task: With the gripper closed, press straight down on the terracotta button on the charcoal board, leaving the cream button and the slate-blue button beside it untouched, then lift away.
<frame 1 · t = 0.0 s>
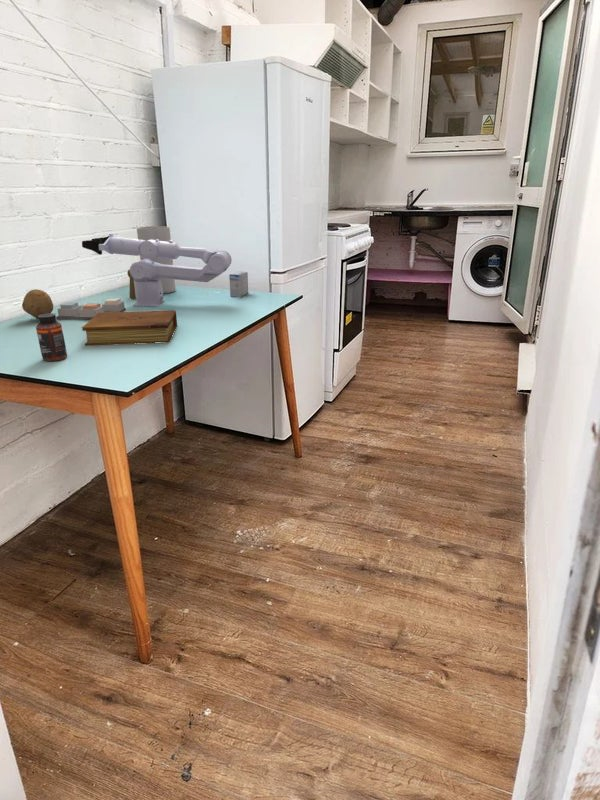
hand: (87, 242, 190), 22 cm above the table, tool horizontal, fingers open, 7 cm apart
medicine box: (239, 295, 211), on the table
board: (92, 314, 183), on the table
button slate: (69, 307, 179), point 3 cm above the table, slide at 0.0 cm
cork: (137, 298, 209), on the table
tall grey block: (160, 292, 220), on the table
button cream: (112, 303, 184), point 3 cm above the table, slide at 0.0 cm
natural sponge: (40, 320, 176), on the table
button terracotta: (91, 308, 177), point 3 cm above the table, slide at 0.0 cm
diary: (134, 337, 158), on the table
supplement bottle: (55, 359, 137), on the table
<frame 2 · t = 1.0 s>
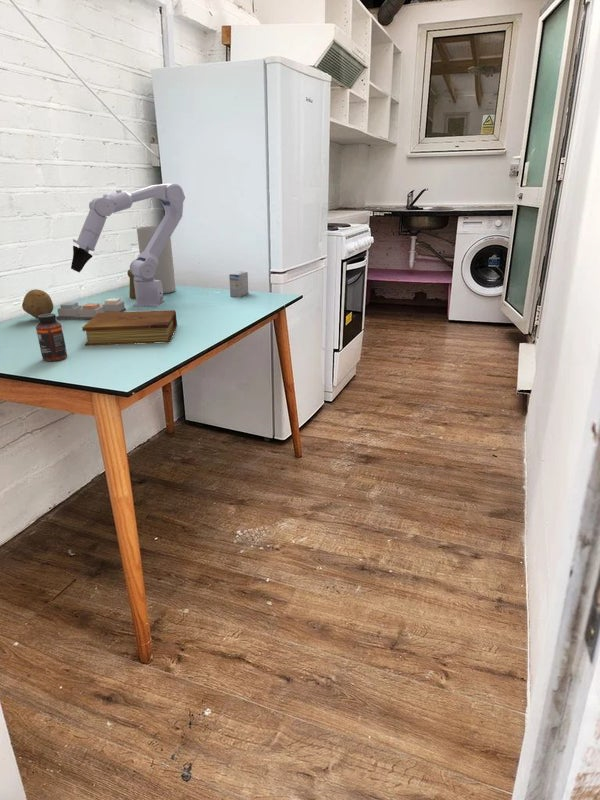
hand: (75, 270, 179), 14 cm above the table, tool tilted 30°, fingers open, 7 cm apart
nothing on the table moved.
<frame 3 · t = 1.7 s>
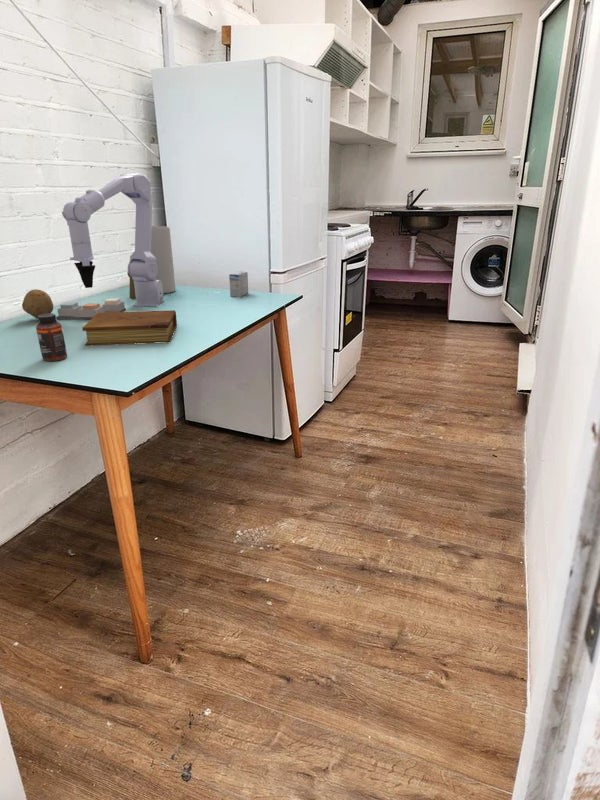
hand: (87, 285, 175), 10 cm above the table, tool pointing down, fingers open, 6 cm apart
nothing on the table moved.
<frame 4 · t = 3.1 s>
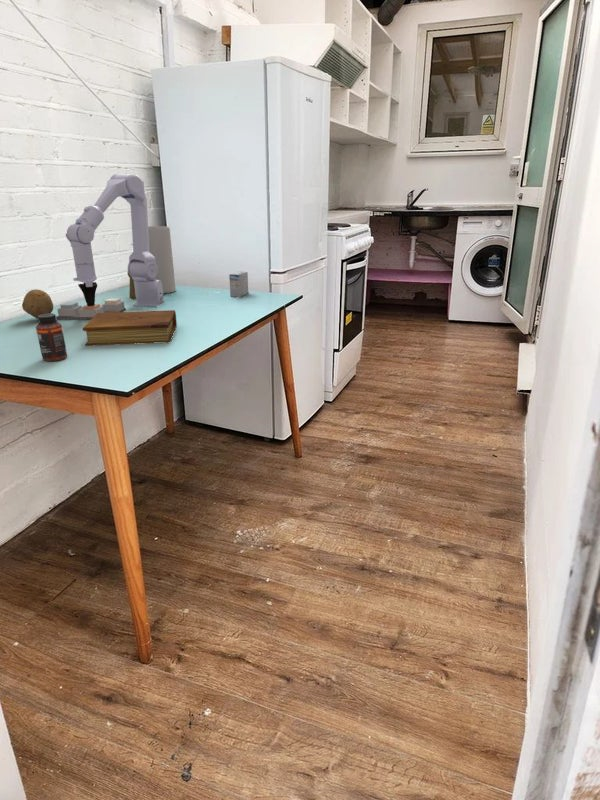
hand: (91, 305, 177), 4 cm above the table, tool pointing down, fingers closed, pressing on button terracotta
button terracotta: (91, 309, 178), point 3 cm above the table, slide at -0.3 cm, touching gripper
everything else where it was.
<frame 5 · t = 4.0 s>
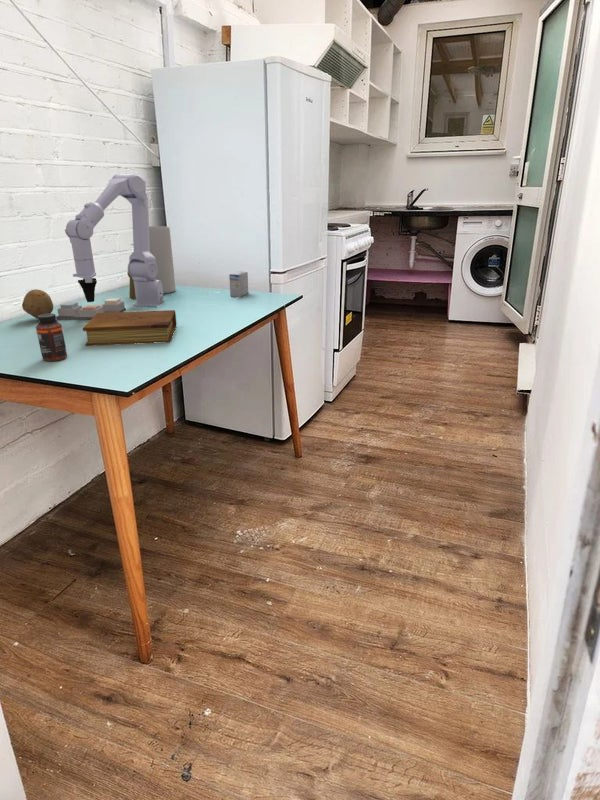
hand: (90, 301, 177), 5 cm above the table, tool pointing down, fingers closed
button terracotta: (91, 310, 178), point 2 cm above the table, slide at -0.7 cm
everything else where it was.
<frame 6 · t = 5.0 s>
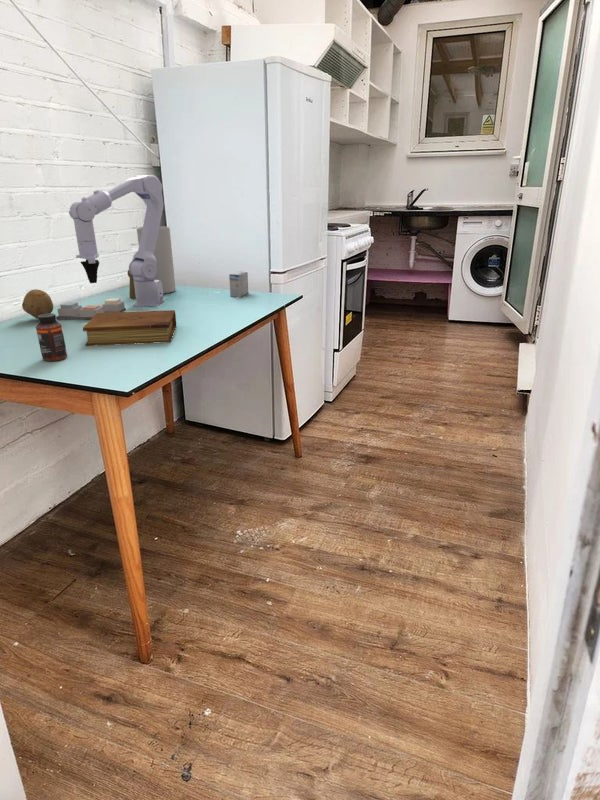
hand: (93, 282, 181), 10 cm above the table, tool pointing down, fingers closed
nothing on the table moved.
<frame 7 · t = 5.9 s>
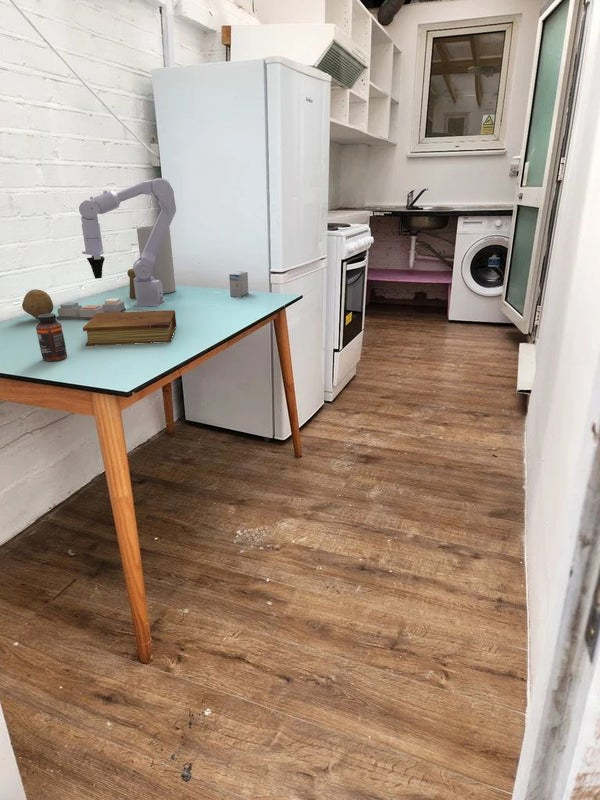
hand: (98, 278, 189), 10 cm above the table, tool pointing down, fingers closed
nothing on the table moved.
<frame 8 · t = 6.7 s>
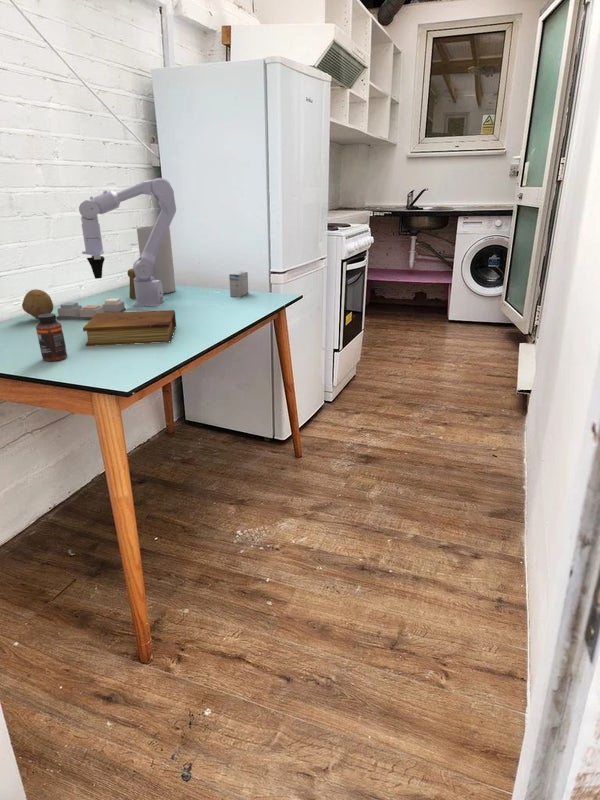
hand: (98, 278, 189), 10 cm above the table, tool pointing down, fingers closed
nothing on the table moved.
at the end: button terracotta slide at -0.7 cm; button cream slide at 0.0 cm; button slate slide at 0.0 cm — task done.
